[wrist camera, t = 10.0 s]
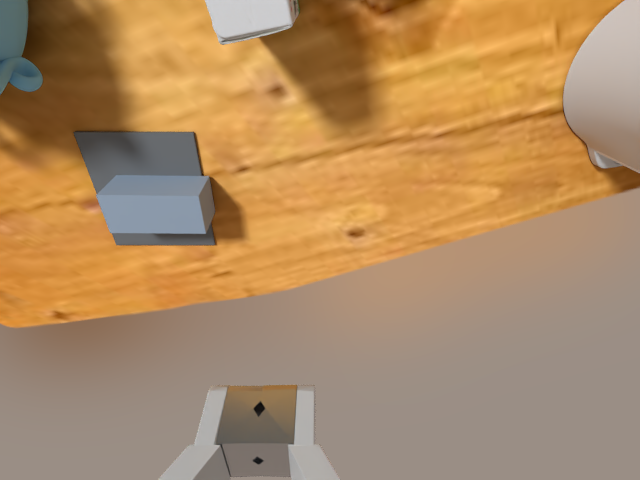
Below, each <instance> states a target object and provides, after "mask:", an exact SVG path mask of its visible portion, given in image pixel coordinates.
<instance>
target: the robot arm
mask: <svg viewBox="0 0 640 480" xmlns="http://www.w3.org/2000/svg"><path fill="white" fill-rule="evenodd" d="M563 107H564V113H565V117H566V120H567V122H568V124H569V126H570V127H571V129H572V130H573V131H574V133H575V134H576V135H578V136H579V137H580V138H581V139H582V140H583V141H584V142H585V143H586V145H587V147H588V152H589V156H590V159H591V161H592V163H593V164H594V165H596V166H598V167H600V168H612V167H618V166H625V167H627V168H630V169H632V170H634V171H636V172H638V173H640V0H625V1H623V2H622V3H621V4H619V5H618V6H617V7H616V8H614V9H613V10H612V11H611V12H610V13H609V14H608V15H607V16H606V17H605V18H604V19H603V20H602V21H601V22H600V23H599V24H598V25H597V26H596V27H595V28H594V29H593V31H592V32H591V33H590V34H589V36H588V37H587V38H586V40H585V41H584V43H583V44H582V46H581V47H580V49H579V51H578V52H577V54H576V56H575V58H574V60H573V62H572V64H571V67H570V69H569V72H568V75H567V78H566V82H565V87H564V94H563ZM247 476H280V477H291V479H292V480H341V479H340V478H339V476H338V474H337V472H336V471H335V469H334V467H333V466H332V464H331V462H330V461H329V459H328V457H327V455H326V454H325V452H324V451H323V449H322V447H321V445H320V444H319V445H318V444H315V385H298V387H297V385H269V386H268V385H267V386H230V385H228V386H227V385H224V386H211V388H210V390H209V391H208V395H207V399H206V403H205V406H204V410H203V413H202V418H201V421H200V425H199V429H198V432H197V436H196V440H195V443H194V445H188V446H187V447H186V449H185V450H184V451H183V452H182V453H181V454H180V455H179V456H178V458H177V459H176V460H175V461H174V462H173V463H172V464H171V466H170V467H169V468H168V469H167V470H166V471H165V472H164V473H163V474H162V476H161V477H160V478H159V479H158V480H230V477H247Z"/></svg>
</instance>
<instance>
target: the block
mask: <svg viewBox="0 0 640 480" xmlns="http://www.w3.org/2000/svg"><path fill="white" fill-rule="evenodd" d="M96 196H97V199H98V202H99V204H100V207H101V210H102V212H103V215H104V217H105V220H106V223H107V225H108V228H109V231H110V233H173V234H206V232H207V230H208V228H209V225H210V223H211V221H212V219H213V216H214V214H215V207H214V201H213V195H212V189H211V183H210V177H209V176H150V175H116V176H115V177H114V178H113V179H112V180H111V181H110V182H109V183H108V184H107V185H106V186H105V187H104V188H103V189H102V190H101V191H100V192H99V193H98V194H97V195H96Z"/></svg>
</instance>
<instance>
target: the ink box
mask: <svg viewBox="0 0 640 480" xmlns="http://www.w3.org/2000/svg"><path fill="white" fill-rule="evenodd" d="M205 2H206V5H207V8H208V11H209V14H210V16H211V20H212V25H213V28H214V31H215V32H216V34H217V37H218V40H219V43H220V44H222V45H224V44H229V43H234V42H239V41H244V40H248V39H253V38H257V37H261V36H265V35H269V34H273V33H277V32H280V31H283V30H286V29H289V28H291V27H292V26H293V24H294V22H295V20H296V18H297V17H298V15H299V13H300V9H299V4H298V0H205Z"/></svg>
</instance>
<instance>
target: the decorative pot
mask: <svg viewBox="0 0 640 480" xmlns="http://www.w3.org/2000/svg"><path fill="white" fill-rule="evenodd" d="M27 29H28V0H0V95H1V93H2V92H3V91H4V89H5V87H6V85H7V83H8V82H10V83H11V84H12V85H13V86H15V87H16V88H18V89H20V90H23V91H27V92H32V91H36V90H37V89H39V88H40V87H41V85H42V83H43V77H42V74H41V72H40V71H39V69H38V68H37V67H36V66H35V65H34V64H33V63H32V62H30V61H29V60H27V59H25V58H23V57H21V56H22V54H23V51H24V47H25V43H26V37H27Z"/></svg>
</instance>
